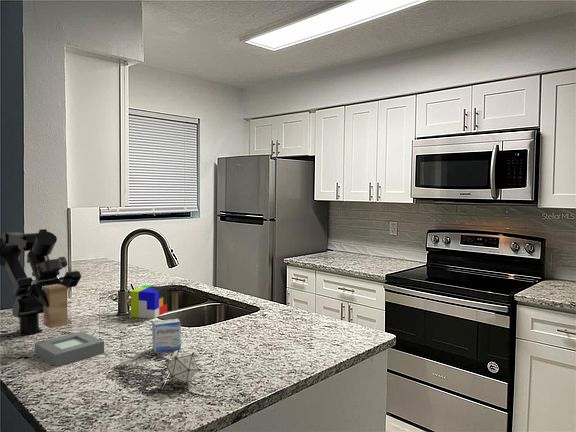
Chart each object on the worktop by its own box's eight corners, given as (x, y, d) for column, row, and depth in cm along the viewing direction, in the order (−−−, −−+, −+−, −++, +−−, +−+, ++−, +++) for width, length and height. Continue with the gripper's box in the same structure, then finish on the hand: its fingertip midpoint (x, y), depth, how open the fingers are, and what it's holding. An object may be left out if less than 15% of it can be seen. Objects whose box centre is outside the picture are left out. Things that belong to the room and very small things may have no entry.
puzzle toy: (154, 318, 168) (154, 292, 167) (130, 316, 170) (130, 291, 169) (167, 311, 178) (167, 286, 177) (144, 309, 180) (144, 285, 179)
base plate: (35, 354, 131) (34, 343, 131) (81, 342, 142) (81, 331, 142) (56, 367, 122) (55, 354, 122) (104, 352, 133) (104, 341, 133)
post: (43, 325, 137) (42, 286, 136) (60, 321, 141) (59, 284, 140) (51, 328, 134) (49, 289, 133) (67, 324, 138) (66, 286, 137)
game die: (177, 394, 115) (168, 357, 119) (208, 382, 115) (198, 345, 120) (164, 391, 107) (156, 351, 111) (198, 378, 107) (188, 339, 112)
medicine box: (155, 353, 133) (154, 325, 133) (152, 348, 137) (151, 321, 137) (181, 349, 137) (181, 321, 136) (177, 344, 141) (177, 317, 140)
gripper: (15, 252, 131) (31, 295, 125) (78, 246, 146) (95, 284, 139) (6, 275, 137) (21, 317, 130) (67, 266, 151) (84, 304, 145)
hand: (57, 304), depth 136 cm, fingers closed on post, 5 cm apart
